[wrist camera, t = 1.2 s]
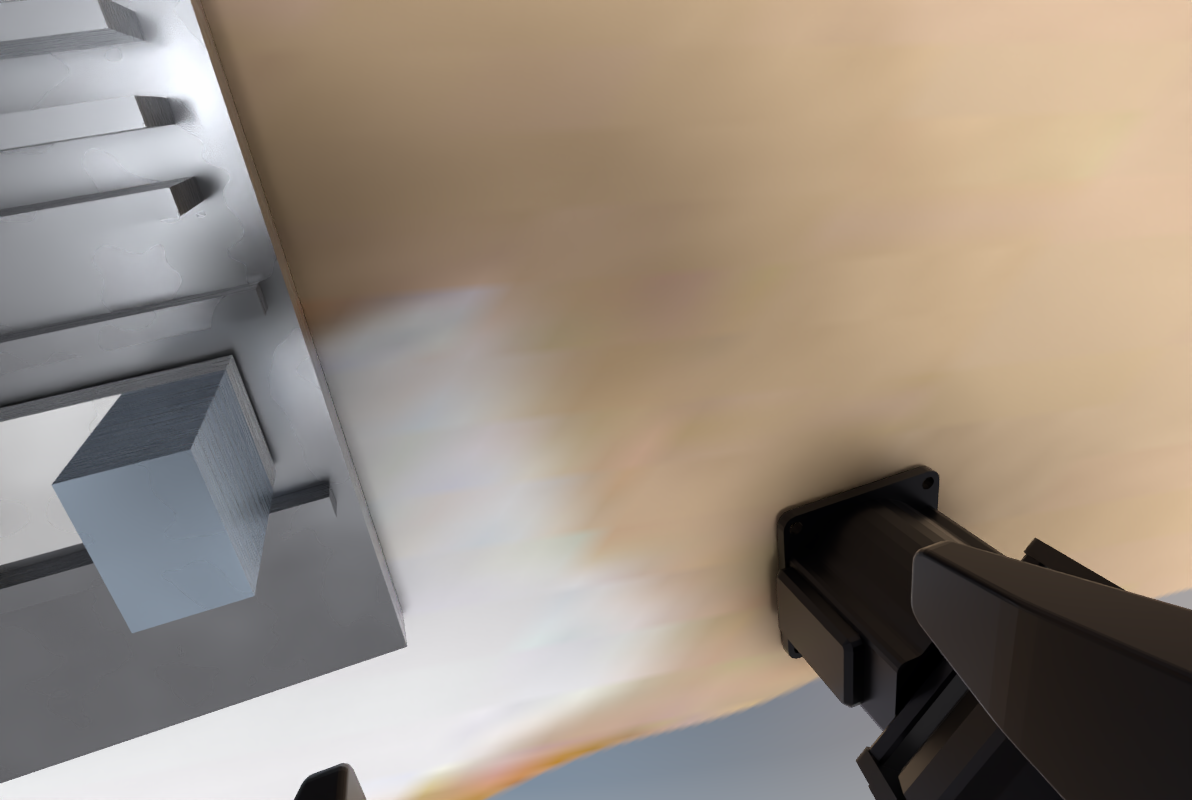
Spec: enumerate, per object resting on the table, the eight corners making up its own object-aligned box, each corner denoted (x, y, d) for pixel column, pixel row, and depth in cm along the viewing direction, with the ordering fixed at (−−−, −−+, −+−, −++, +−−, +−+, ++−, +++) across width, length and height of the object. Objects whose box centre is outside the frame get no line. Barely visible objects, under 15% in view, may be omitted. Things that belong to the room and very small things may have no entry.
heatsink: (172, -85, 14) (105, -162, 10) (403, 614, 22) (417, 729, 18) (-632, -10, 11) (-1159, -74, 7) (-50, 761, 19) (-156, 937, 15)
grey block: (232, 354, 16) (190, 449, 11) (276, 470, 17) (254, 596, 13) (-140, 440, 14) (-354, 587, 10) (-60, 561, 16) (-220, 740, 11)
